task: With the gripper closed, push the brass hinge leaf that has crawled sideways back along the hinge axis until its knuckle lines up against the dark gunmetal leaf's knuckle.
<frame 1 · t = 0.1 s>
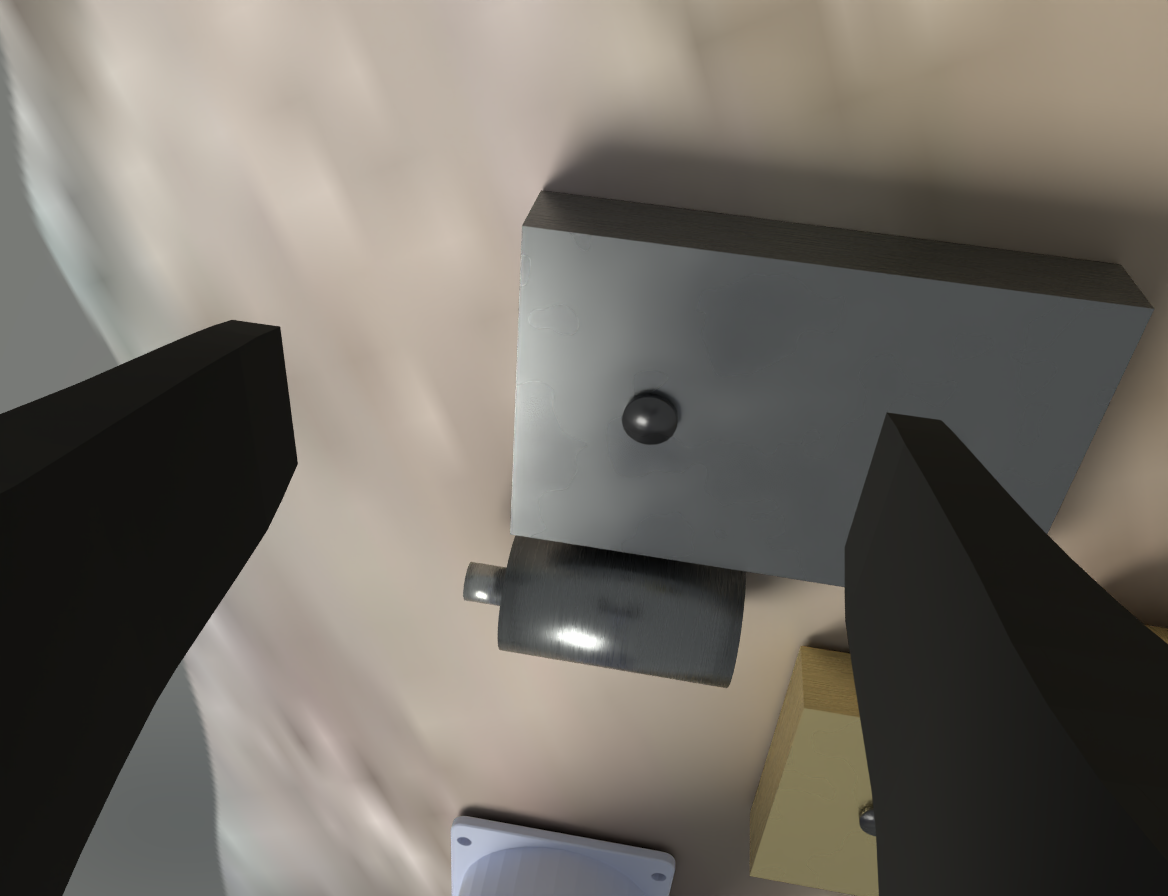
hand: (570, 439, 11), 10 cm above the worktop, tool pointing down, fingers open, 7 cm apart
fixed leaf: (741, 577, 26), on the worktop
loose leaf: (1026, 783, 26), point 2 cm above the worktop, slide at 8.0 cm
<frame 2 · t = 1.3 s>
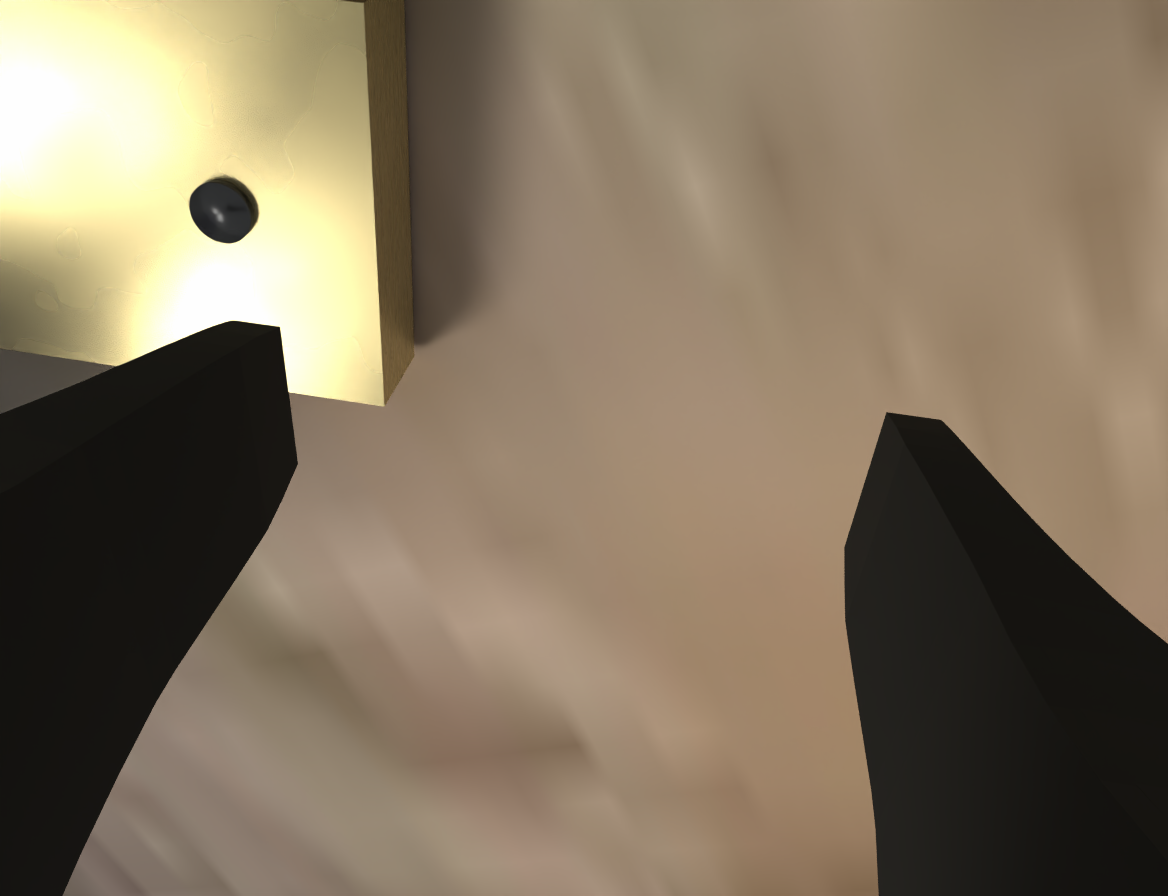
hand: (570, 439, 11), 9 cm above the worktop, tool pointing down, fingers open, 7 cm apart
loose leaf: (100, 90, 18), point 2 cm above the worktop, slide at 8.0 cm
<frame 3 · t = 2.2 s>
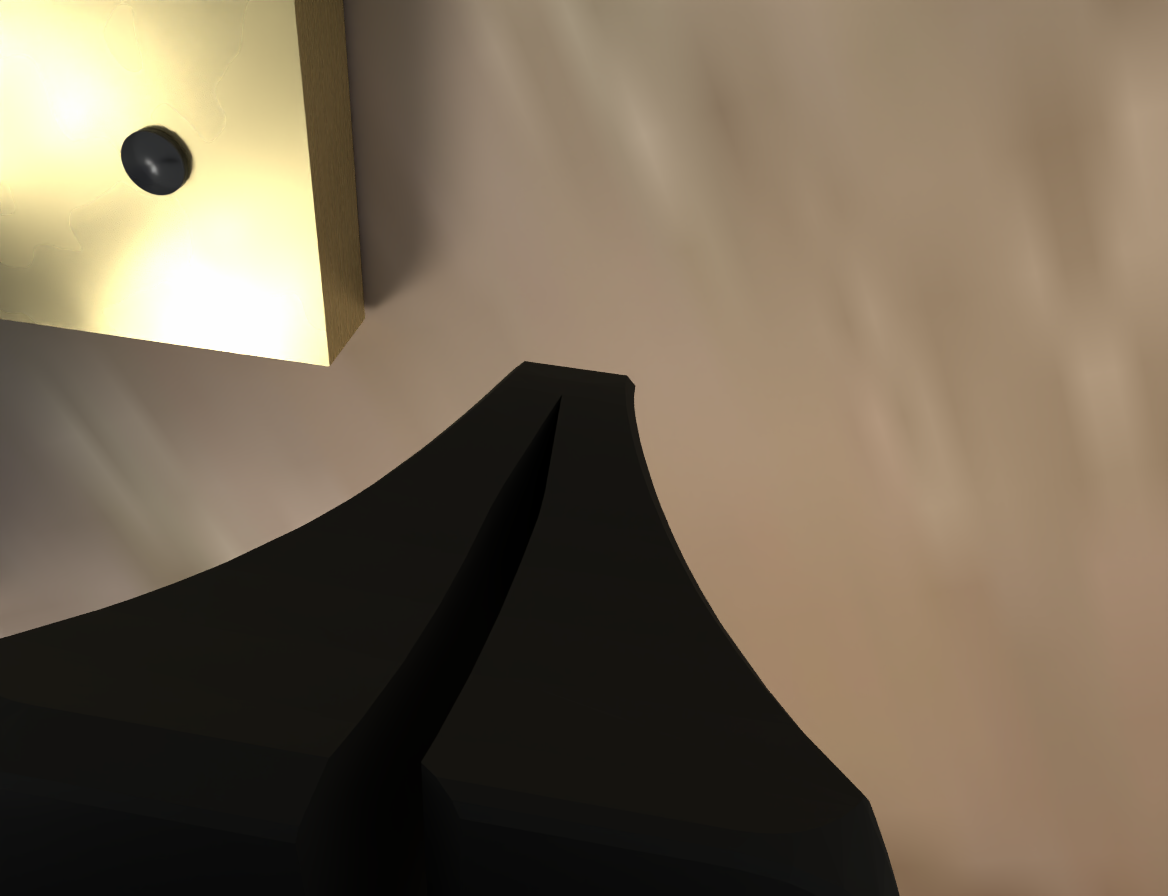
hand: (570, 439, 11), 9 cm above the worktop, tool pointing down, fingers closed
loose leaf: (28, 37, 17), point 2 cm above the worktop, slide at 8.0 cm
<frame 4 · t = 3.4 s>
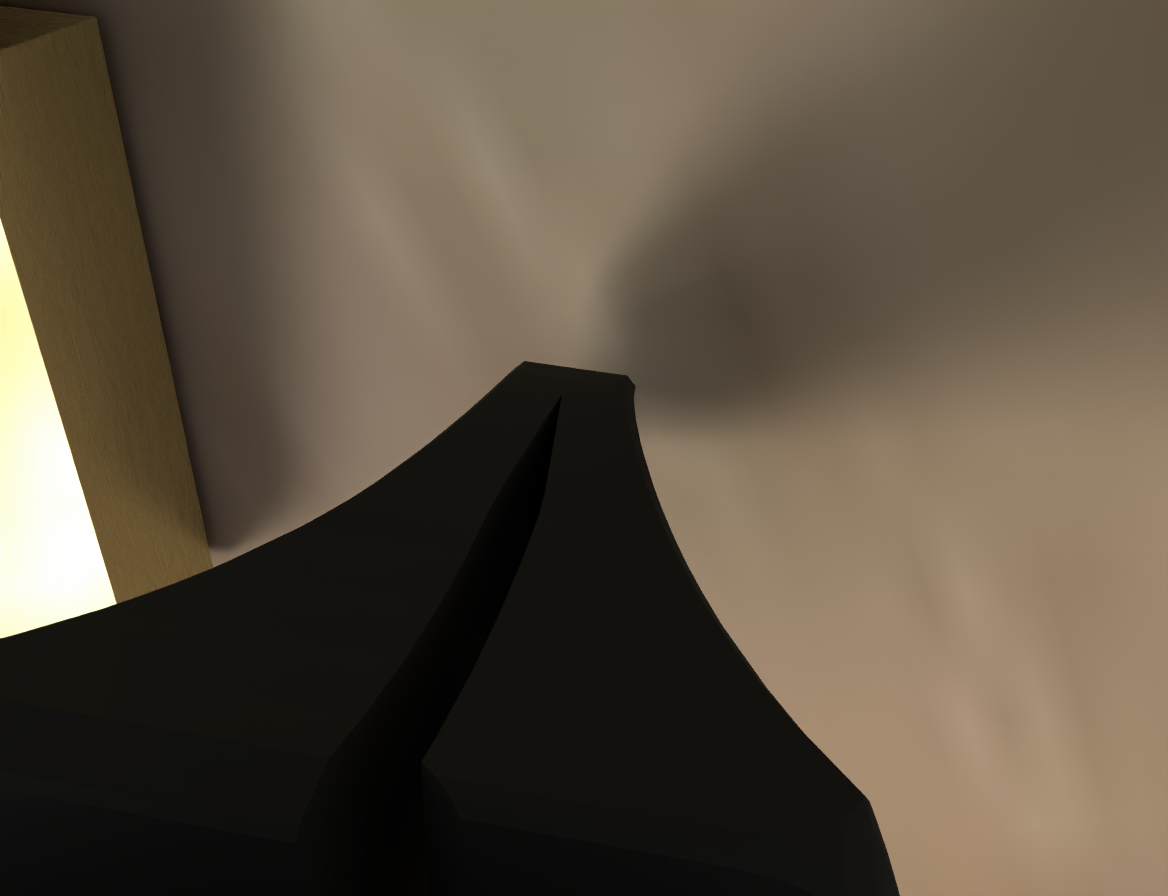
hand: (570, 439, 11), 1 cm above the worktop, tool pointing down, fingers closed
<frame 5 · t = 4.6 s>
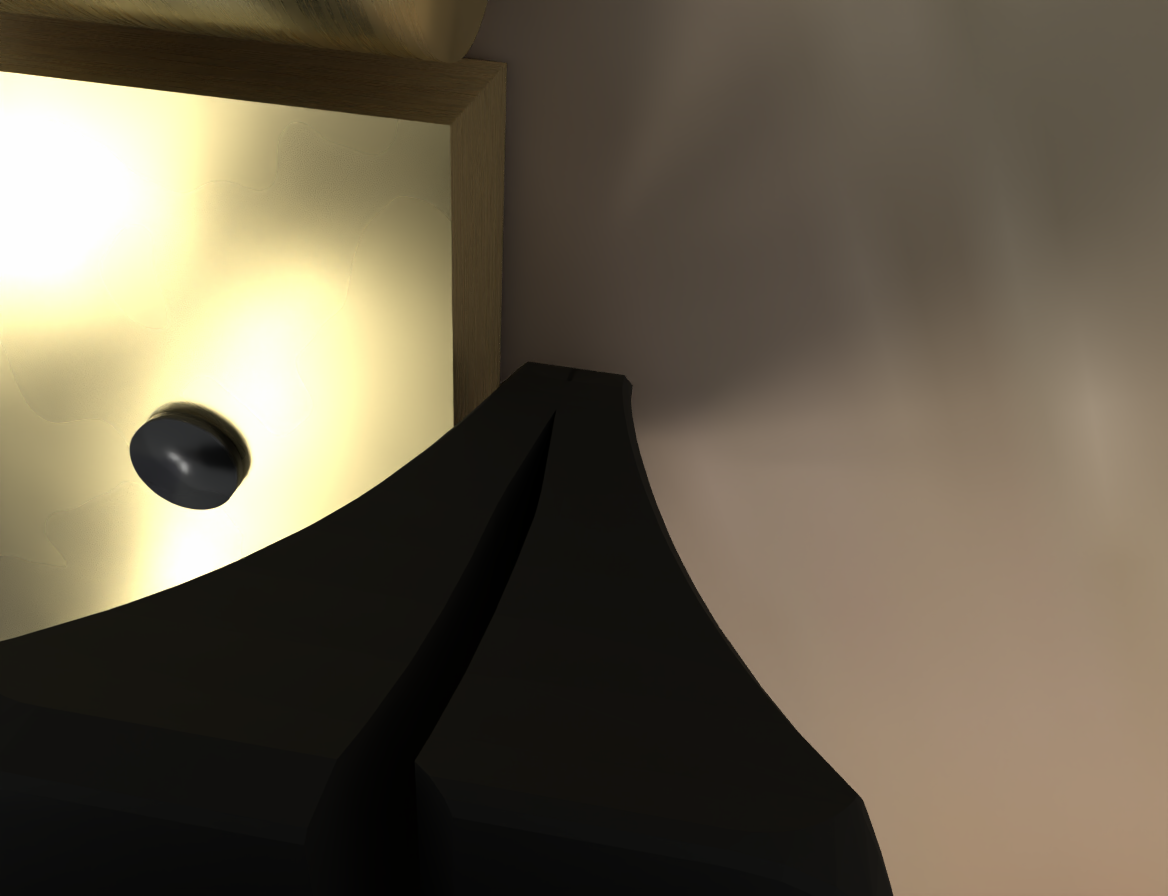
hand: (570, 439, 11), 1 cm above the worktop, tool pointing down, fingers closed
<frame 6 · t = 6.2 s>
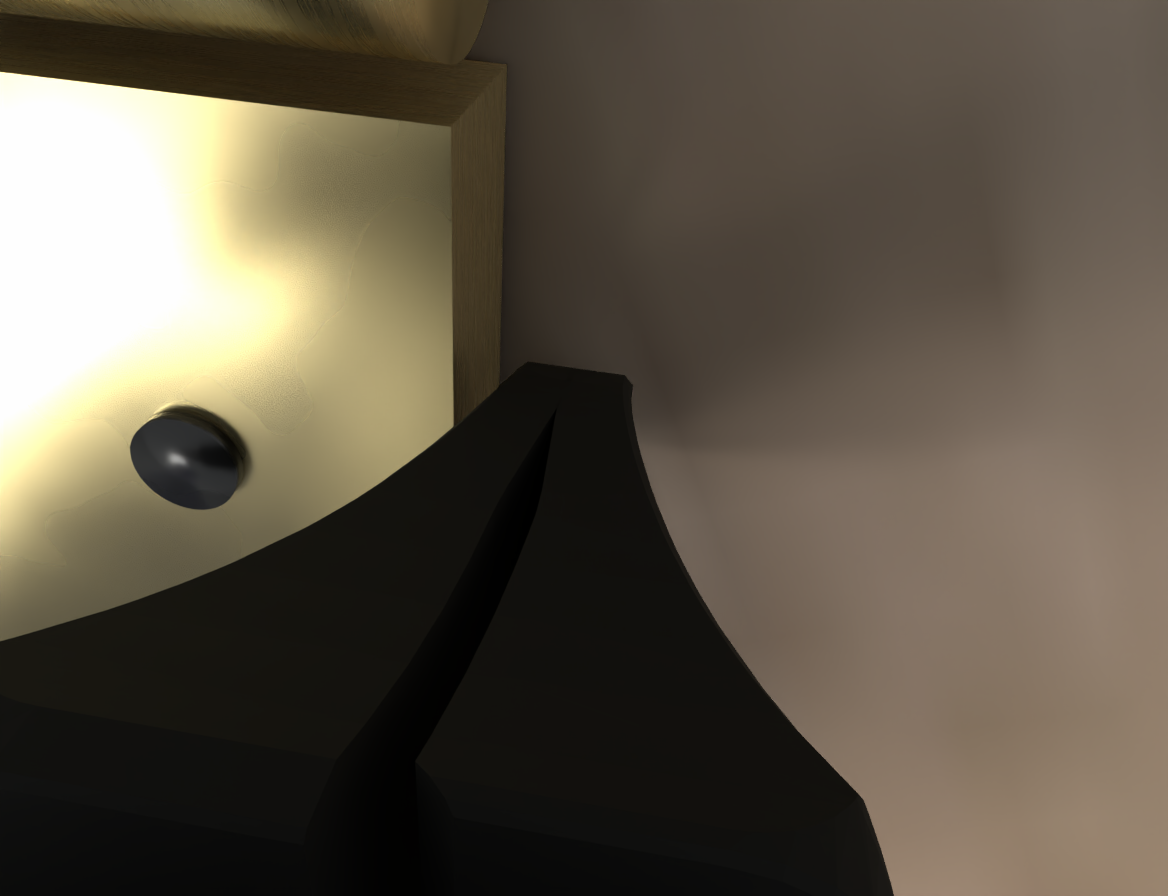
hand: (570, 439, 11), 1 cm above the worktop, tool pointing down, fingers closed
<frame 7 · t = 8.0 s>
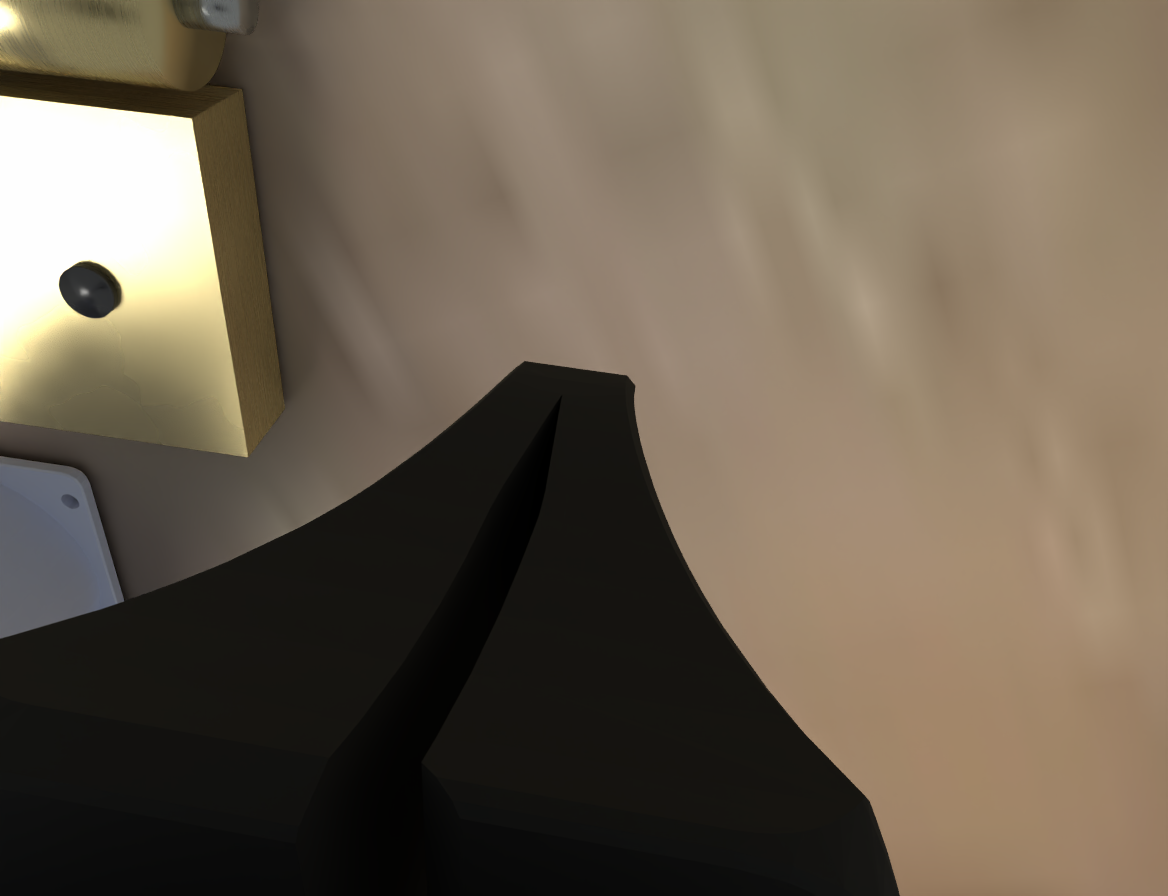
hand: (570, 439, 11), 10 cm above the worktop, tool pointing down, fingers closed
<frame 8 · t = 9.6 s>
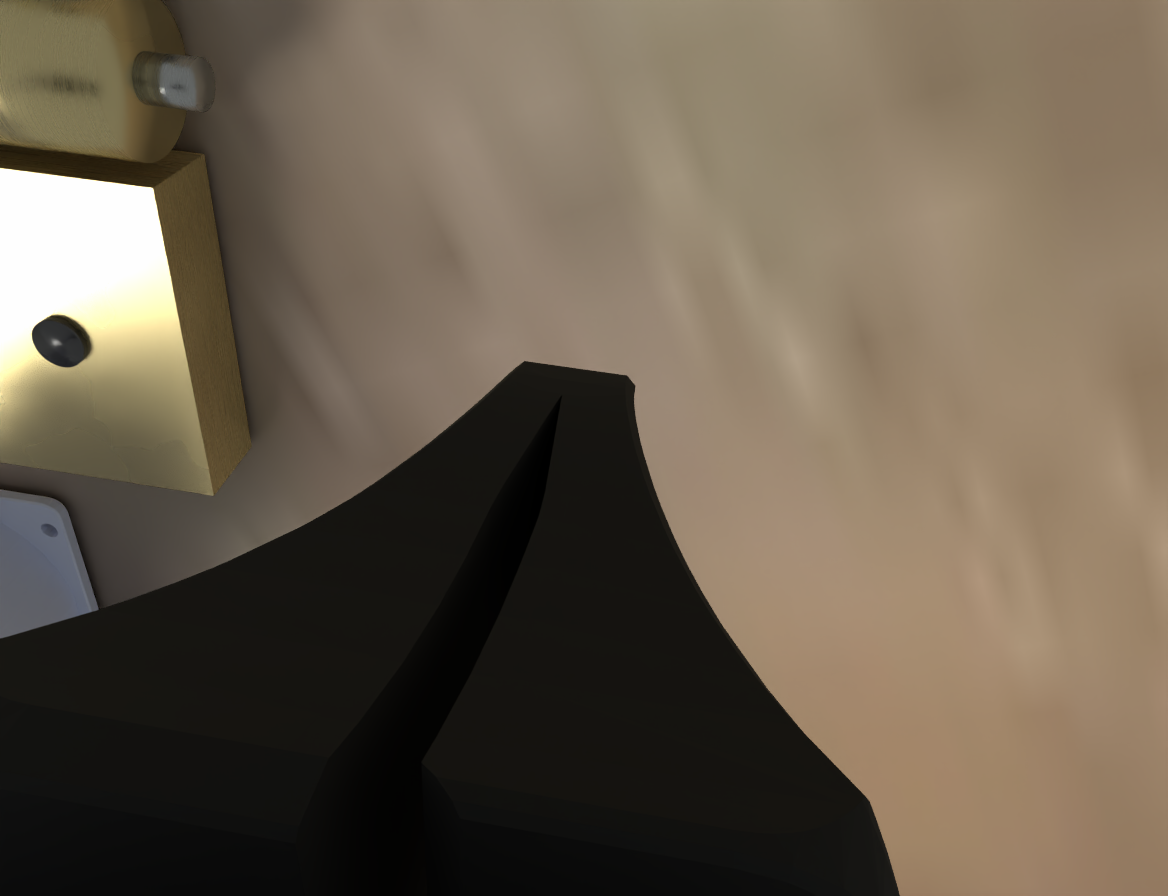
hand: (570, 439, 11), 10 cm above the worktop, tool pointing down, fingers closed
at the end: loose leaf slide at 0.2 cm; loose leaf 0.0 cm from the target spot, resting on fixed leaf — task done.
